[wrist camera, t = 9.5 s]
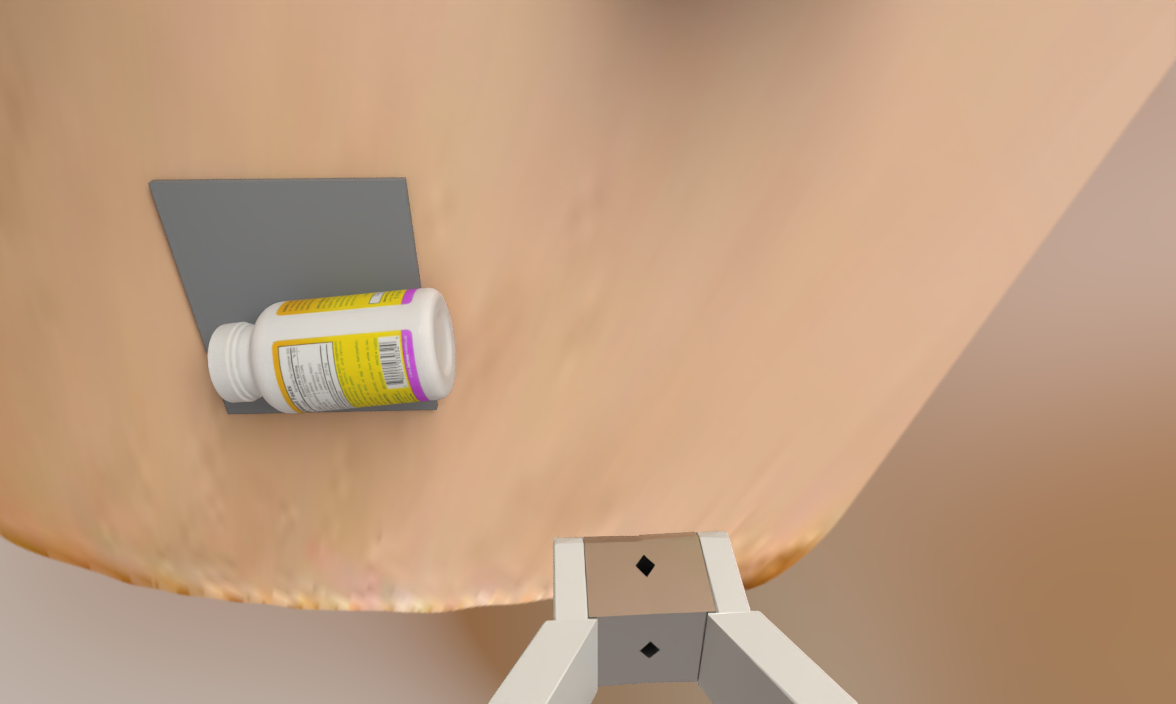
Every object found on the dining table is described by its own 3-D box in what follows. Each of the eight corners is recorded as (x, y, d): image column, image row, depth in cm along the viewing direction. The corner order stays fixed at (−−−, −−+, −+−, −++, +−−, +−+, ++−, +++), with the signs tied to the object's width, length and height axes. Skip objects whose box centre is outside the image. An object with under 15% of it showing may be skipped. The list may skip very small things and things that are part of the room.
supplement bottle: (458, 318, 45) (263, 336, 45) (432, 264, 39) (207, 284, 39) (457, 415, 42) (249, 434, 42) (430, 373, 36) (187, 394, 36)
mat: (405, 177, 39) (404, 180, 39) (437, 405, 48) (436, 409, 47) (152, 179, 39) (148, 182, 38) (230, 409, 47) (227, 414, 47)
